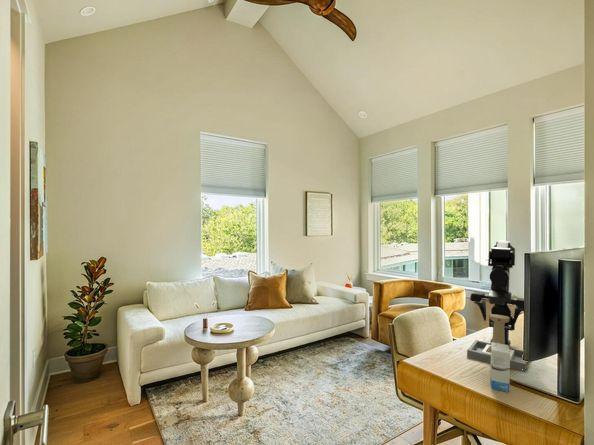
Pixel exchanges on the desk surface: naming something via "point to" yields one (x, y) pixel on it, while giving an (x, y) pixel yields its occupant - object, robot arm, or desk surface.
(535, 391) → the desk surface
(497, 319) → the handle
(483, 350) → the walled box
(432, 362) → the desk surface
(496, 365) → the ink box
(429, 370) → the desk surface
